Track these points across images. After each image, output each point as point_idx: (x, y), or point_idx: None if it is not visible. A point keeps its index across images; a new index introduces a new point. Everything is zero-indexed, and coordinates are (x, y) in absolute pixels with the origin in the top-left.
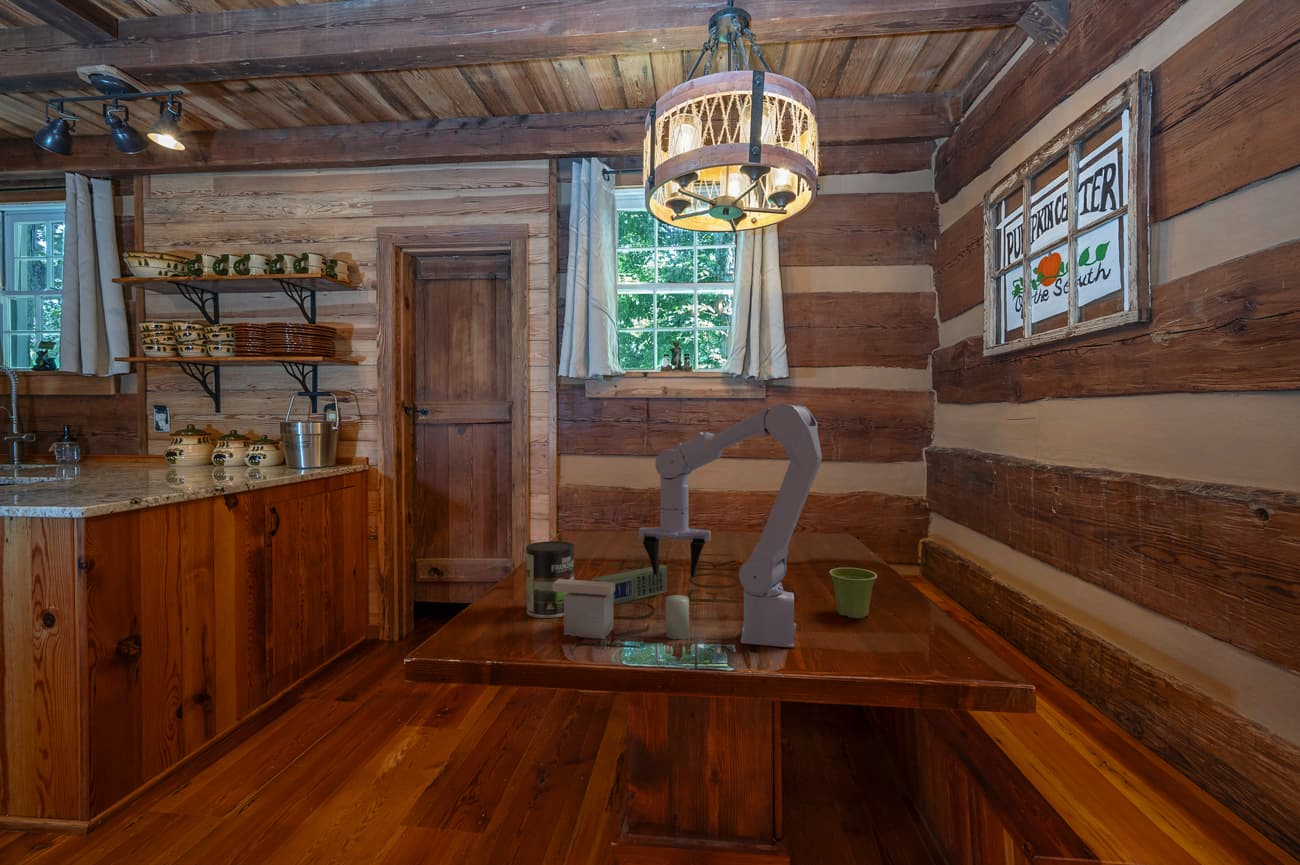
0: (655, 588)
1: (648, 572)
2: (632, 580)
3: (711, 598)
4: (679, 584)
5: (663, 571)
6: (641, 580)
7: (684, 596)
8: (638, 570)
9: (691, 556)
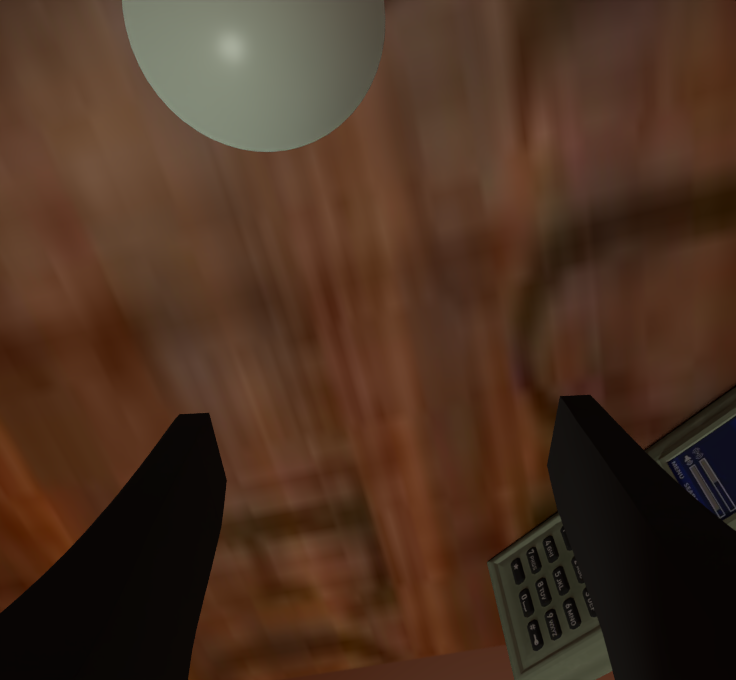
0: (545, 556)
1: None
2: None
3: (267, 546)
4: (447, 640)
5: (525, 657)
6: None
7: (207, 121)
8: None
9: (120, 587)
